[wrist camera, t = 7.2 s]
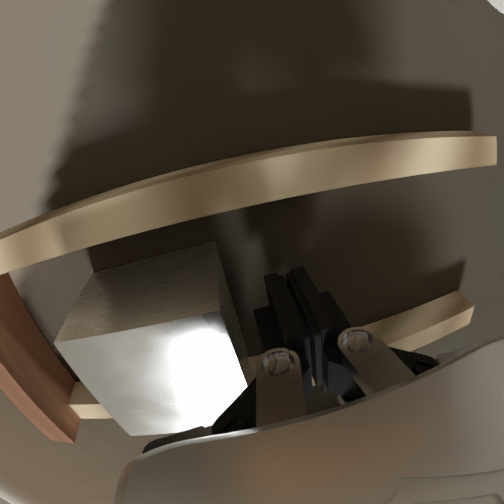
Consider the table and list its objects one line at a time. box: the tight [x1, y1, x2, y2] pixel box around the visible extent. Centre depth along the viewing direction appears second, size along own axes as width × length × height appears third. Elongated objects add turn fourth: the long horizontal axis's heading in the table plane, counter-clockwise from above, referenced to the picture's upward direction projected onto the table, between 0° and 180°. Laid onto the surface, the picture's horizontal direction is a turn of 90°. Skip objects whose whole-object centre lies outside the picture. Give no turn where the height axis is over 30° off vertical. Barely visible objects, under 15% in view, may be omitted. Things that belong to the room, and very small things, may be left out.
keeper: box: [54, 241, 252, 436], centre depth 12 cm, size 6×6×5 cm
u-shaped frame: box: [0, 131, 497, 443], centre depth 12 cm, size 28×12×4 cm, turn 100°
